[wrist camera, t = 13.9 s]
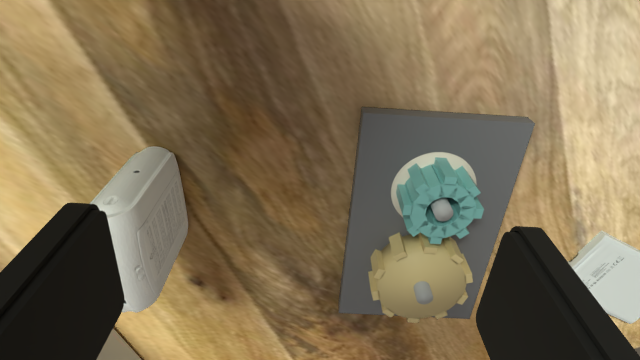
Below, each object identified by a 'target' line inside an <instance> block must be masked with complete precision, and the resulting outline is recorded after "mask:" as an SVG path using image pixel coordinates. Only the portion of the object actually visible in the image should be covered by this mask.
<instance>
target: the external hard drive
mask: <svg viewBox="0 0 640 360" xmlns="http://www.w3.org/2000/svg"><path fill="white" fill-rule="evenodd" d="M568 263H569V265H570V266H571V267H572V268H573V270H574V271H575V272H576V274H577V275H578V276H579V278H580V279H581V280H582V282H583V283H584V284H585V285H586V287H587V288H588V289H589V291H590V292H591V293H592V295H593V296H594V297H595V299H596V300H597V301H598V303H599V304H600V305H601V306H602V308H603V309H604V310H605V312H606V313H607V314H609V315H611V316H614V317H616V318H618V319H620V320H622V321H625V322H627V323H629V324H631V323H634V322H635V321H636V320H638V319H639V318H640V250H638V249H636V248H634V247H632V246H630V245H629V244H627V243H625V242H623V241H621V240H619V239H617V238H615V237H613V236H611V235H609V234H607V233H605V232H604V231H602V230H601V231H600V232H599V233H598V234H597V235H596V236H595V237H594V238H593V239H592V240H591V241H590V242H589V243H587V244H586V245H585V246H584V247H583V248H582V249H581V250H580V251H579V252H578V255H577V256H576V257H574V259H573V260H572V261H569V262H568Z"/></svg>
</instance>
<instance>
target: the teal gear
mask: <svg viewBox="0 0 640 360" xmlns="http://www.w3.org/2000/svg"><path fill="white" fill-rule="evenodd" d="M407 170H408V172H409V175H410V178H409V179H408V180H407V181H406V183H405V185H402V184H397V190H396V195H397V199H398V202H399V205H400V209H401V212H402V215H403V219H404V222H405V225H406V229H407V231H408V232H409V233H410V234H411V235H412V236H413V237H414V236H416V235H417V234H419V233H422V234H424V235H425V236H427V237H428V240H429V243H430V244H441V241H442V238H447V237H449V236H452V235H455V234H456V235H457V236H458V238H459V239H461V238H463V237H464V236H466V235H467V234H469V231H468V229H467V226H468V225H469V224H470V223H471V222H472V220H473V218H477V219H481V218H482V214H483V211H484V208H483V207H482V205H481V203H480V202H479V200H478V198H477V197H476V196H477V195H479V194H480V193H481V192H480V190H479V189H478V187H477V186H476V184H475V183H474V181H473V179H472V178H471V176H470V175H469V173H468V172H467V171H466V169H465V168H464V167H463V166H461V167H459V168H458V169H456V170H455V169H453V168H452V167H451V165H450V163H449V162H448V160H447V158H438V157H435V161H434V164H432V165H431V164H430V165H428V166H425V167H423V168H420V167H419V165H418V164H417V163H416V164H414V165H413V166H411V167H410V168H409V169H407ZM441 197H447V199H448V201H449V203H450V206H451V208H452V210H453V216H452V217H451V218H450V219H449V220H447V221H438V220H437V219H436V218H435V216H434V213H433V211H432V208H431V206H430V203H431V202H432V201H434V200H436V199H439V198H441Z"/></svg>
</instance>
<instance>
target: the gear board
mask: <svg viewBox="0 0 640 360" xmlns="http://www.w3.org/2000/svg"><path fill="white" fill-rule="evenodd" d="M534 125H535V123H534V122H533V121H531V120H530V119H529V118H528V117H518V116H501V115H485V114H469V113H453V112H436V111H420V110H404V109H388V108H371V107H362V109H361V118H360V126H359V135H358V143H357V151H356V160H355V168H354V177H353V185H352V194H351V202H350V211H349V219H348V227H347V236H346V244H345V253H344V261H343V270H342V278H341V287H340V295H339V313H352V314H374V315H388V316H389V317H392V316H393V315H396V316H402V317H406V319H407V322H410V323H419V320H420V318H428V317H436V319H440V318H462V319H470V316H471V313H472V310H473V307H474V304H475V301H476V298H477V295H478V292H479V289H480V286H481V283H482V280H483V277H484V274H485V271H486V268H487V265H488V262H489V259H490V256H491V253H492V250H493V247H494V244H495V241H496V238H497V235H498V232H499V229H500V226H501V223H502V220H503V217H504V214H505V211H506V208H507V205H508V202H509V199H510V196H511V193H512V190H513V187H514V184H515V181H516V178H517V175H518V172H519V169H520V166H521V163H522V160H523V157H524V154H525V151H526V148H527V145H528V142H529V139H530V137H531V134H532V131H533V128H534ZM435 157H438V158H447V160H448V162H449V163H450V165H451V167H452V168H453V169H455V170H456V169H458V168H459V167H461V166H463V167H464V168H465V169H466V171H467V172H468V173H469V175H470V176H471V178H472V179H473V181H474V183H475V184H476V186H477V187H478V189H479V190H480V192H481V193H480V194H479V195H477V196H476V197H477V198H478V200H479V202H480V203H481V205H482V207H483V208H484V211H483V214H482V218H481V219H477V218H473V220H472V222H471V223H470V224H469V225H468V226H467V229H468V231H469V234H467V235H466V236H464V237H463V238H461V239H459V238H458V236H457V235H456V234H455V235H452V236H449V237H447V238H442V241H441V244H430V243H429V240H428V237H427V236H425V235H424V234H422V233H419V234H417V235H416V236H414V237H413V236H412V235H411V234H410V233H409V232H408V231H407V229H406V225H405V222H404V219H403V215H402V212H401V209H400V205H399V202H398V199H397V195H396V190H397V184H402V185H405V183H406V181H407V180H408V179H409V178H410V175H409V172H408V170H407V169H409V168H410V167H411V166H413V165H414V164H416V163H417V164H418V165H419V167H420V168H423V167H425V166H428V165H430V164H431V165H432V164H434V161H435ZM430 206H431V208H432V211H433V213H434V216H435V218H436V219H437V220H438V221H447V220H449V219H450V218H451V217H452V216H453V210H452V208H451V206H450V203H449V201H448V199H447V197H441V198H439V199H436V200H434V201H432V202H431V203H430Z"/></svg>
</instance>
